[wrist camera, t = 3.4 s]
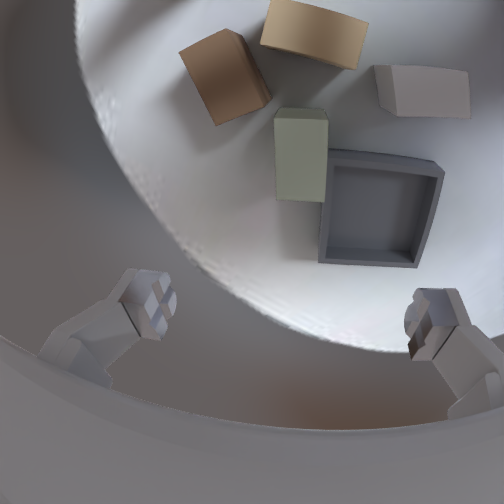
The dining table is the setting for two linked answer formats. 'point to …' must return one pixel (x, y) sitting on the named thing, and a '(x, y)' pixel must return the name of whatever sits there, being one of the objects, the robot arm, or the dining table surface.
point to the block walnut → (226, 76)
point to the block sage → (301, 154)
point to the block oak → (314, 33)
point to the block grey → (423, 91)
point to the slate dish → (377, 208)
